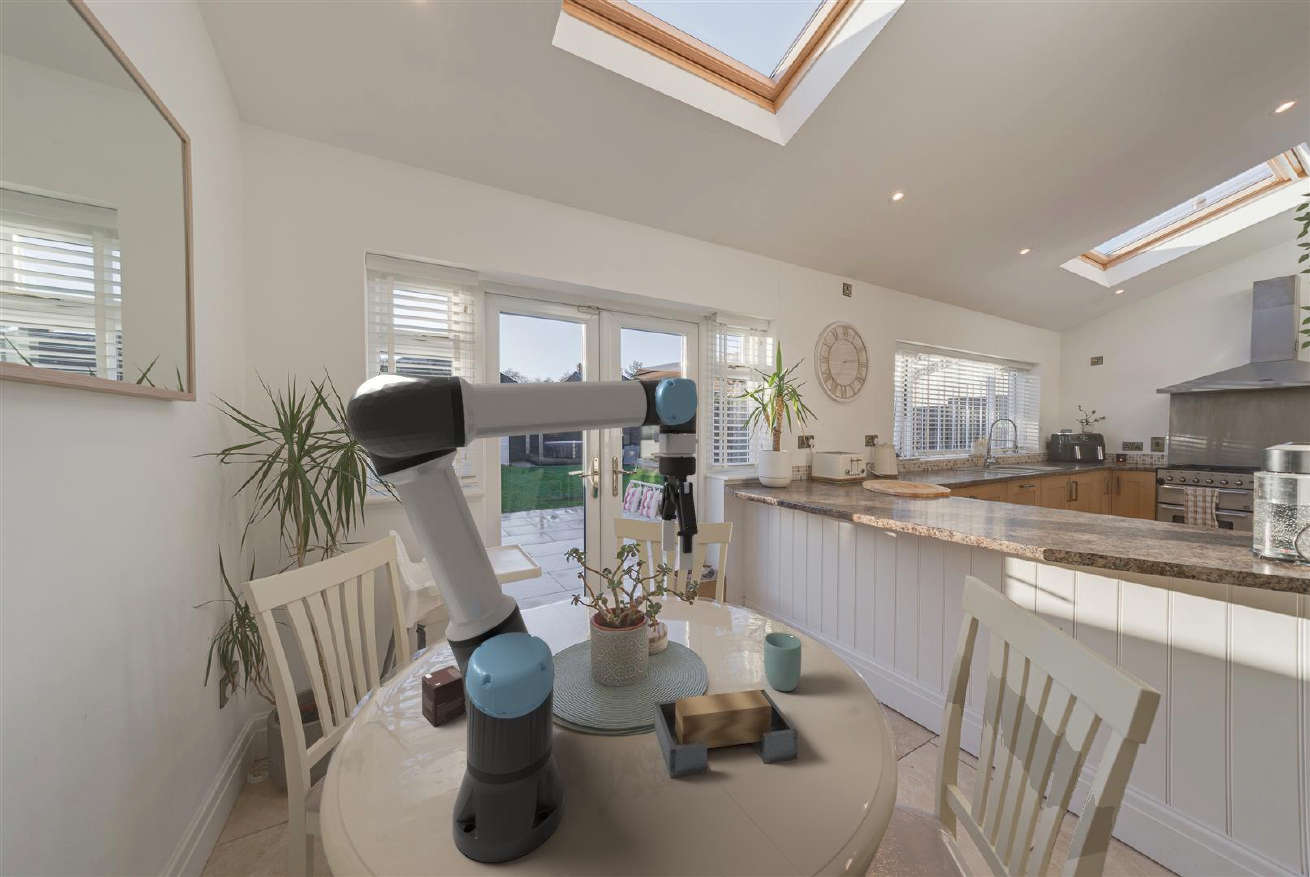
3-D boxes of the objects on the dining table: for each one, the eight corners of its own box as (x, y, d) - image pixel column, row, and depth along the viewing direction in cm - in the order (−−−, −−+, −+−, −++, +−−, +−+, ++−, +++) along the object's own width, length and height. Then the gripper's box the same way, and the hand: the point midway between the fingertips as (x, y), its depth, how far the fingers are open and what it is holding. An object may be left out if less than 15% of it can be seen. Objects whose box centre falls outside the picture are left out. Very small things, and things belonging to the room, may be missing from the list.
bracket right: (763, 712, 87) (764, 689, 87) (797, 758, 75) (797, 731, 75) (734, 716, 86) (735, 692, 86) (764, 763, 74) (764, 736, 74)
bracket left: (670, 778, 71) (670, 750, 70) (653, 726, 83) (654, 702, 83) (706, 772, 72) (707, 744, 72) (685, 722, 84) (685, 698, 84)
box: (466, 713, 86) (466, 675, 86) (433, 728, 82) (433, 688, 82) (452, 700, 90) (452, 664, 90) (421, 713, 86) (421, 676, 86)
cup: (803, 698, 92) (803, 650, 92) (764, 694, 94) (764, 646, 93) (798, 678, 100) (799, 634, 100) (762, 674, 101) (763, 630, 101)
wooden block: (682, 751, 75) (682, 716, 75) (675, 732, 80) (675, 698, 80) (770, 739, 78) (771, 705, 78) (758, 721, 83) (759, 689, 83)
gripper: (716, 459, 80) (714, 577, 80) (679, 452, 104) (678, 543, 104) (675, 459, 78) (673, 580, 78) (647, 452, 102) (646, 544, 103)
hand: (676, 559), depth 91 cm, fingers open, 13 cm apart
